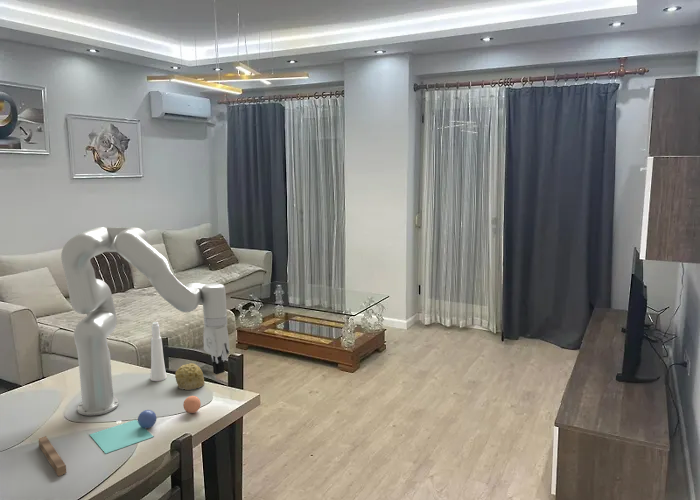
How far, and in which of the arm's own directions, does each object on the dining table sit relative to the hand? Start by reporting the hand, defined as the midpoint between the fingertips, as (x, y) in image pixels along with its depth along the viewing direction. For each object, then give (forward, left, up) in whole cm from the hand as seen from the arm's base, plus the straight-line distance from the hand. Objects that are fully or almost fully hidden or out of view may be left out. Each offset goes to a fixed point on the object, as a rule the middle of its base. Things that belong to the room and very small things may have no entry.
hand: (218, 372), depth 182 cm
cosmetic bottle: (-34, -7, -11) cm, 37 cm away
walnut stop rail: (0, -52, -11) cm, 53 cm away
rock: (-20, -1, -12) cm, 23 cm away
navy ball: (0, -25, -9) cm, 26 cm away
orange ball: (0, -10, -9) cm, 13 cm away
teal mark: (0, -33, -11) cm, 35 cm away
